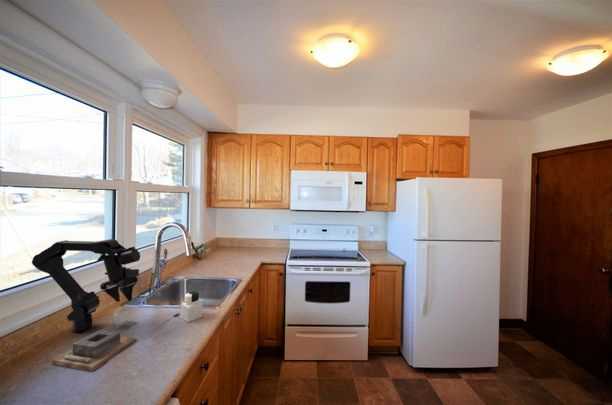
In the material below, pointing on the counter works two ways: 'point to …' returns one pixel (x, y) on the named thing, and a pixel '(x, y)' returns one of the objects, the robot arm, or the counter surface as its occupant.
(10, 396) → the counter surface
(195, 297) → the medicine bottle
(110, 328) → the key mat
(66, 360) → the stand
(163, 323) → the tactical tomahawk
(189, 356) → the counter surface
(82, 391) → the counter surface
